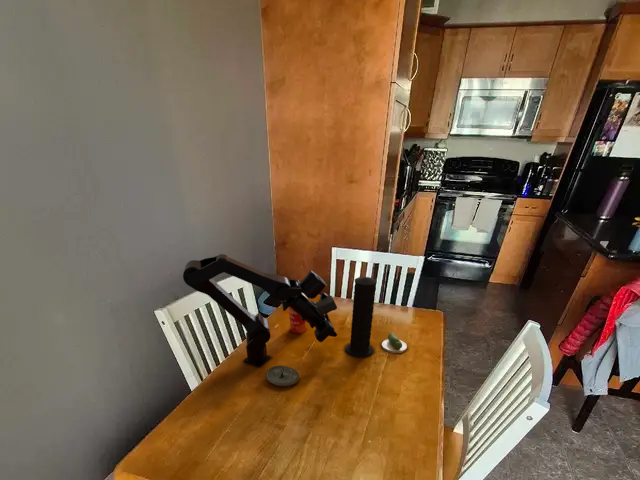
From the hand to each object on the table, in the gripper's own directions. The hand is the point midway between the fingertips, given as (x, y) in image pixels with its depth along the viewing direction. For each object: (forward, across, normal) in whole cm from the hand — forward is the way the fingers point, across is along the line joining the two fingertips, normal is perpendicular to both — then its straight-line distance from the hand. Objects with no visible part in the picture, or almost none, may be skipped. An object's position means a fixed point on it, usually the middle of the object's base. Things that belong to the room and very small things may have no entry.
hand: (336, 335), depth 125 cm
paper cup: (-2, +19, +12) cm, 22 cm away
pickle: (+20, 0, -11) cm, 23 cm away
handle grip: (+11, 0, -2) cm, 11 cm away
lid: (-9, -13, +19) cm, 25 cm away
